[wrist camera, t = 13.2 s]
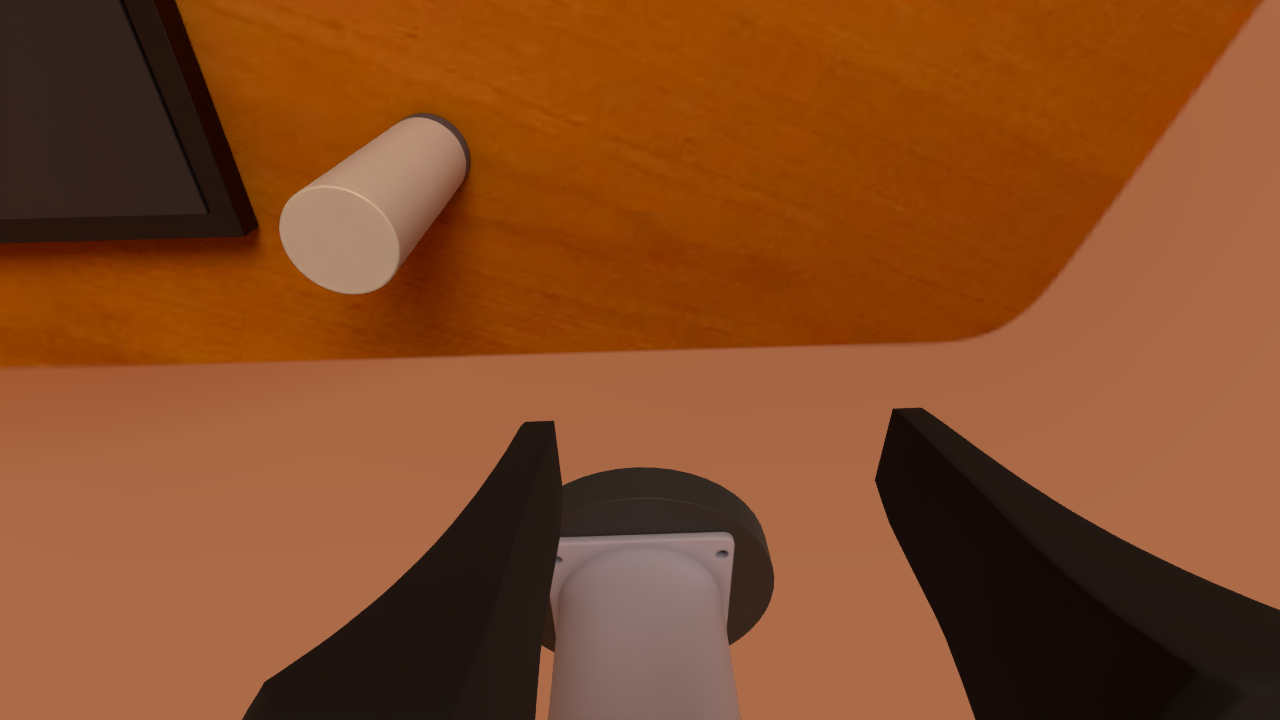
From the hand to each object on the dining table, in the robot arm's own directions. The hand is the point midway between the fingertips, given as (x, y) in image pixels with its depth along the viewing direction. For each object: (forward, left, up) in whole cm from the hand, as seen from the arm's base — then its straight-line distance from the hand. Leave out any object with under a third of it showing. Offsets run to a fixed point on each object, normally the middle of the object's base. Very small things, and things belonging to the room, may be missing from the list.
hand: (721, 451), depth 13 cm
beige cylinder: (+4, +8, -9) cm, 13 cm away
